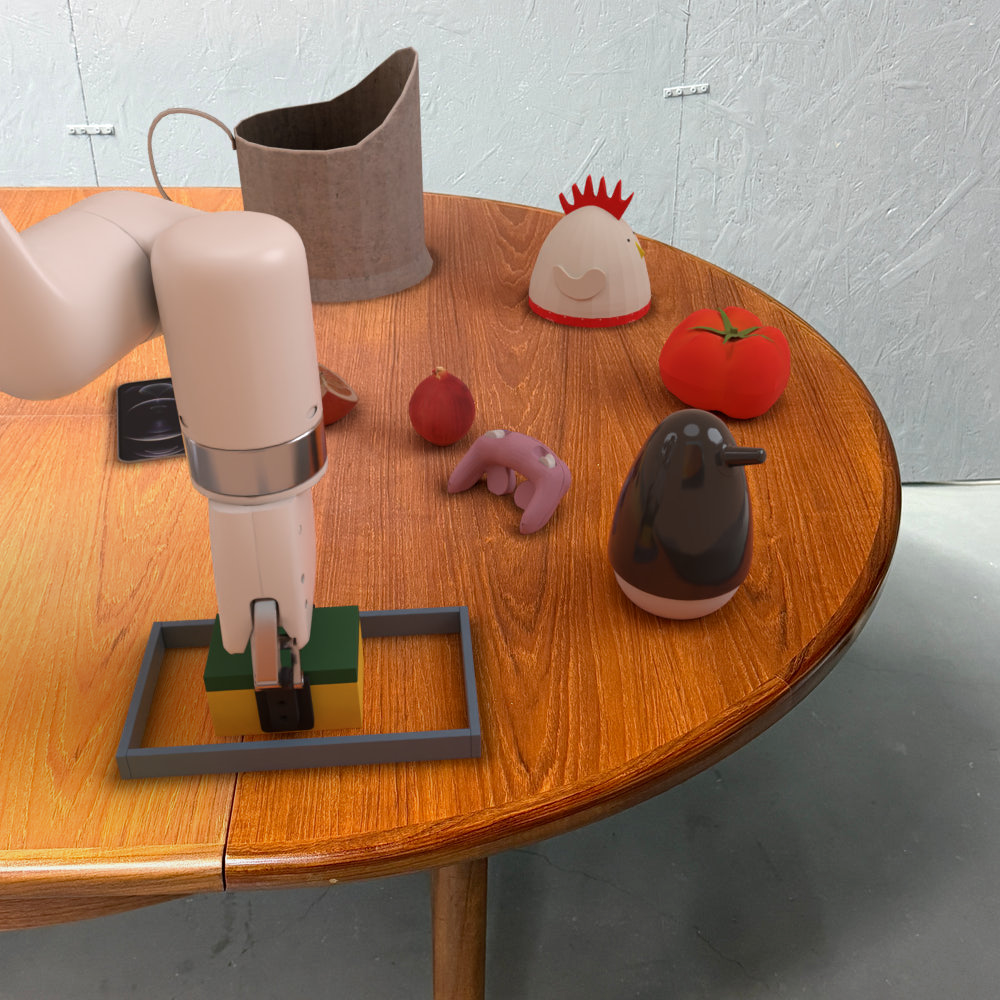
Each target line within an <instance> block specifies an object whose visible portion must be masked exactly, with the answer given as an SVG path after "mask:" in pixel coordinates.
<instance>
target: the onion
mask: <svg viewBox="0 0 1000 1000" xmlns="http://www.w3.org/2000/svg"><path fill="white" fill-rule="evenodd" d="M476 410H477V409H476V402H475V400H474V397H473V395H472V392H471V390H470V388H469V387H468V386H467V384H466V383H465V382H464V381H463V380H462V379H460V378H459V377H457V376H456V375H454V374H452V373H450V372H449V371H448V370H447V369H446V368H444V367H443V366H436V367H435V368H433V369H431V375H429V376H427V377H425V378H424V379H423V380H422V381H421V382H419V383H418V385H417V386H416V387H415V389H414V391H413V393H412V395H411V396H410V400H409V403H408V417H409V420H410V423H411V426H412V427H413V430H415V432H416V433H417V434H418V435H420V437H422V438H423V439H424V440H426V441H428V442H430V443H432V444H433V445H436V446H438V447H449V446H452V445H453V444H455V443H456V442H458V441H460V440H462V439H463V438H464V437H465V436H466V435H467V434H468V433H469V431H470V429H471V427H472V426H473V423H474V421H475V417H476Z"/></svg>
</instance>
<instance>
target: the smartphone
mask: <svg viewBox="0 0 1000 1000" xmlns="http://www.w3.org/2000/svg"><path fill="white" fill-rule="evenodd" d="M116 437H117V438H116V439H117V440H116V441H117V442H116V443H117V446H116V447H117V459H118V461H119V462H120V463H121V464H125V465H132V464H133V465H134V464H140V463H147V462H153V461H154V462H156V461H161V460H162V461H163V460H169V459H175V458H183V457H186V453H185V448H184V442H183V437H182V432H181V425H180V421H179V416H178V410H177V405H176V400H175V394H174V389H173V384H172V379H171V376H169V377H161V378H153V379H145V380H137V381H130V382H129V381H128V382H125V383H122V384H120V385H118V386H117V387H116Z"/></svg>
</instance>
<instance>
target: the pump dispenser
mask: <svg viewBox="0 0 1000 1000" xmlns="http://www.w3.org/2000/svg"><path fill="white" fill-rule="evenodd" d="M767 454H768V453H767V451H766V449H765V448H764V447H755V446H739V445H738V443H737V441H736V439H735V437H734V435H733V433H732V431H731V430H730V428H729V427H728V425H727V424H726V423H725V421H723V419H721V418H720V417H719V416H717V415H715V414H714V413H713V412H710V411H705V410H701V409H698V408H684V409H679V410H676V411H673V412H672V413H670V414H668V415H666V416H665V417H664V418H662V419H661V420H660V421H659V422H658V423H657V424H656V426H655V427H653V429H652V430H651V431H650V433H649V435H648V436H647V437H646V439H645V440H644V441H643V443H642V444H641V447H640V448H639V449H638V452H637V453H636V455H635V457H634V458H633V461H632V463H631V465H630V467H629V468H628V470H627V473H626V476H625V477H624V480H623V483H622V485H621V488H620V491H619V493H618V496H617V500H616V503H615V506H614V511H613V515H612V519H611V523H610V526H609V527H610V528H609V531H608V537H607V558H608V562H609V564H610V566H611V568H612V570H613V573H614V576H615V579H616V581H617V583H618V585H619V586H620V588H621V590H622V591H623V593H624V594H625V596H626V597H627V598H628V599H629V600H630V601H631V602H632V603H634V605H636V606H637V607H638V608H640V609H642V610H643V611H645V612H647V613H649V614H652V615H653V616H657V617H661V618H665V619H669V620H693V619H698V618H702V617H705V616H708V615H710V614H712V613H714V612H716V611H717V610H719V609H721V608H722V607H723V606H725V605H726V604H727V603H728V602H729V601H730V600H731V599H732V598H733V597H734V595H735V594H736V592H738V589H739V588H740V586H741V585H742V584H743V583H744V582H745V581H746V580H747V578H748V576H749V574H750V572H751V567H752V563H753V555H754V513H753V504H752V502H753V501H752V496H751V489H750V485H749V480H748V475H747V471H746V468H745V467H749V466H756V465H757V466H758V465H762V464H764V463H765V462H766V461H767V456H768V455H767Z"/></svg>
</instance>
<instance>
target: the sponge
mask: <svg viewBox="0 0 1000 1000" xmlns="http://www.w3.org/2000/svg"><path fill="white" fill-rule="evenodd" d="M359 611H360V607H359V604H353V605H337V606H335V605H334V606H319V607H315V608H313V610H312V620H311V630H310V638H309V641H308V643H307V644H306V645H305V646H304V647H303V648H301V649H302V662H303V675H304V676H305V675H309V681H310V688H311V696H312V703H313V711H314V718H315V721H314V728H313V729H311V730H304V731H289V732H274V733H265V732H263V731H262V730H261V726H260V720H259V714H258V709H257V703H256V697H255V691H254V686H253V683H254V677H253V665H252V654H251V642H250V637H249V640H248V643H247V646H246V648H245V651H244V653H235V654H230V653H228V652H227V651H226V649H225V648H224V646H223V640H222V633H221V626H220V618H219V612H217V613H216V614H215V618H214V619H215V623H214V628H213V632H212V637H211V642H210V646H208V653H207V657H206V661H205V666H204V671H203V677H202V678H203V684H204V688H205V693H206V698H207V702H208V703H207V704H208V708H209V712H210V717H211V721H212V727H213V731H214V736H215V738H220V737H221V738H223V737H235V736H236V737H238V736H254V735H255V736H256V735H269V734H270V735H272V734H286V733H287V734H288V733H301V732H318V731H319V732H320V731H332V730H333V731H335V730H351V729H352V730H353V729H362V728H363V721H364V717H363V715H364V681H365V680H364V679H365V678H364V677H365V661H364V650H363V649H364V648H363V638H362V637H361V627H360V617H359ZM280 634H287V632H286V631H285V629H284V628H283V627H280ZM280 660H281V666H282V667H290V668H292V667H291V654H290V649H286V650H280Z"/></svg>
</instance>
